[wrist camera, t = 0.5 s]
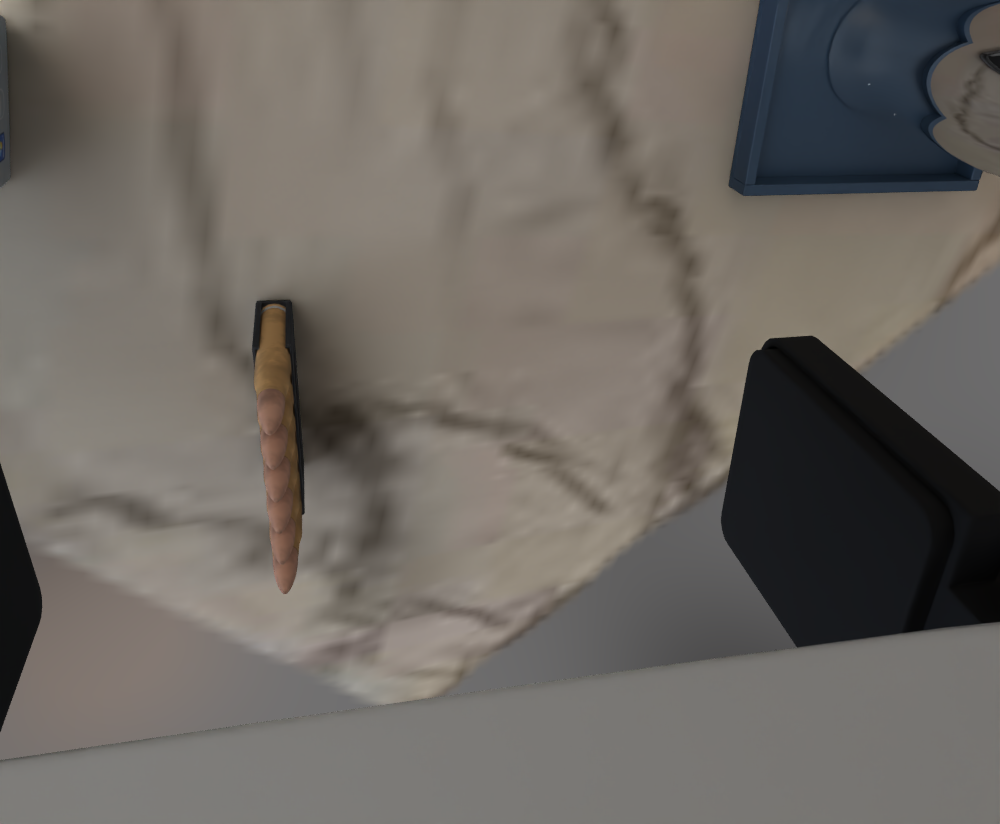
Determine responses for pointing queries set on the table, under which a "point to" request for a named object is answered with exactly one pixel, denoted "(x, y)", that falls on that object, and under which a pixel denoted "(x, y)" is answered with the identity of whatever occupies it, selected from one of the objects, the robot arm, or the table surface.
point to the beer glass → (926, 71)
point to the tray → (824, 119)
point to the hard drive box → (4, 108)
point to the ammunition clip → (280, 433)
